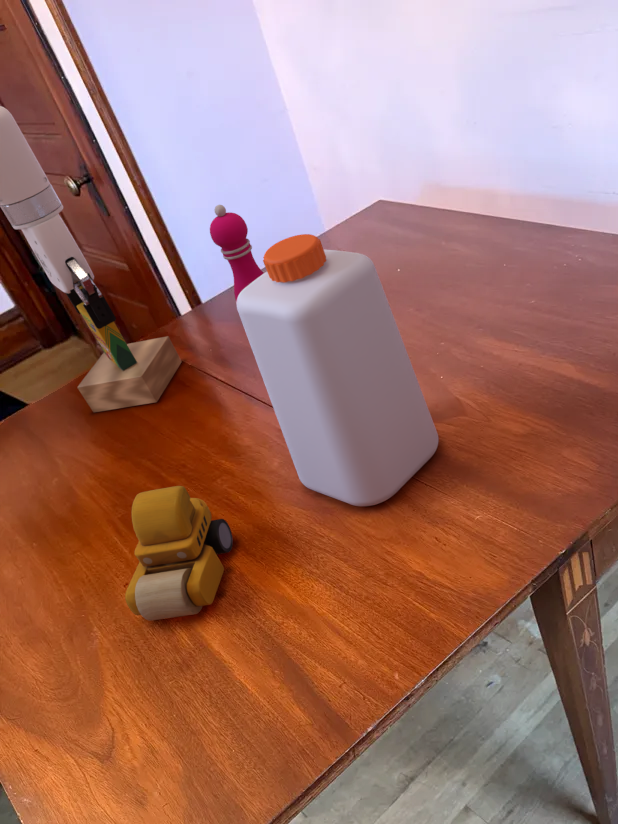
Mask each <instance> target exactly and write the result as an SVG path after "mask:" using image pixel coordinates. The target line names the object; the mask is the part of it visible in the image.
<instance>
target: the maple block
mask: <svg viewBox="0 0 618 824" xmlns="http://www.w3.org/2000/svg"><path fill="white" fill-rule="evenodd" d="M126 344H127V345H128V347H129V349H130V351H131V352H132V354H133V356H134V357H135V359H136V361H137V363H136V364H134V365H133V366H131V367H129V368H127V369H125V370H124V371H123V370H121V369H120V368H119V367H118V366H117V365H116V364H115V363H113V362H112V361H111V360H110V359H109V358H108V357H107V356H106V354H105V353H104V352H103V353H101V355H100V356H99V358H98V359H97V361H96V362H95V363H94V365H92V367H91V369H90V370H89V371H88V372H87V373H86V375H85V376H84V378H83V379H82V380H81V382H79V384H78V386H77V390H78V391H79V392H80V394H81V396H82V397H83V399H84V400H85V402H86V403H87V405H88V406H89V408H90V410H91V411H92V412H93V413H100V412H106V411H111V410H118V409H119V410H120V409H125V408H130V407H135V406H136V407H137V406H143V405H148V404H153V403H158V401H159V400H160V398H161V396H162V395H163V394H164V392H165V391H166V388H167V387H168V386H169V384H170V382H171V380H172V378H173V377H174V375H175V374H176V372H177V370H178V369H179V367H180V366H181V363H182V362H183V361H182V359H181V357H180V356H179V353H178V351H177V349H176V347H175V346H174V344H173V342H172V341H171V338H170V336H168V335H167V336H162V337H157V338H151V339H147V340H141V341H136V342H131V343H126Z"/></svg>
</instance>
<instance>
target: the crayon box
mask: <svg viewBox="0 0 618 824" xmlns="http://www.w3.org/2000/svg"><path fill="white" fill-rule="evenodd" d="M83 305H84V302H83V303H81V304H79V305H77V308H78V310H79V312H80V313H81V314H80V315H81V316H82V318H83V320H84V321H85V323H86V325H87V326H88V328H89V329H90V331H91V333H92V334H93V336H94V338H95V339H96V341H97V343H98V344H99V346H100V348H101V349H102V351H103V353H105V354H106V356H107V357H108V358H109V359H110V360H111V361H112V362H113V363H115V364H116V365H117V366H118V367H119V368H120V369H121V370H123V371H124V370H125V369H127V368H129V367H131V366H133V365H134V364H136V363H137V361H136V359H135V357H134V356H133V354H132V352H131V351H130V349H129V347H128V345H127V344H128V343H127V342H126V340H125V339H124V337H123V335H122V334H121V331H120V330H119V328H118V327H117V324H116V323H115V321H114V322H112V323H110V324H108V325H106V326H104V327H103V328H101V329H98V328H96V326H95V325H94V323H93V321H92V320H91V318H90V316H89V315H88V313H87V311H86V309H85V308H84V306H83Z"/></svg>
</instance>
